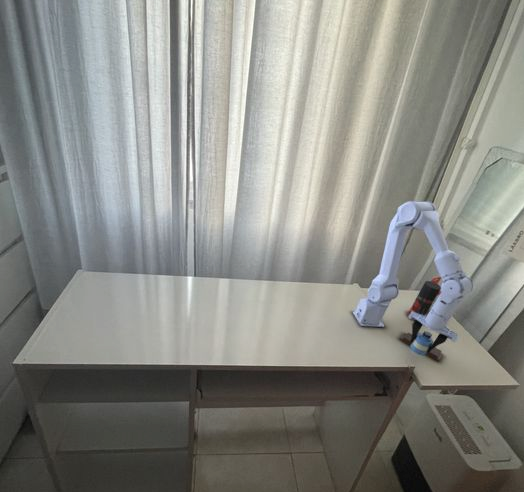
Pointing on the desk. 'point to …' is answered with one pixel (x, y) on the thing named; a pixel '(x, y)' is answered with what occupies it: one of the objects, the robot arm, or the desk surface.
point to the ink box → (438, 293)
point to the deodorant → (425, 298)
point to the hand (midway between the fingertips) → (420, 346)
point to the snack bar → (433, 353)
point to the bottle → (422, 343)
